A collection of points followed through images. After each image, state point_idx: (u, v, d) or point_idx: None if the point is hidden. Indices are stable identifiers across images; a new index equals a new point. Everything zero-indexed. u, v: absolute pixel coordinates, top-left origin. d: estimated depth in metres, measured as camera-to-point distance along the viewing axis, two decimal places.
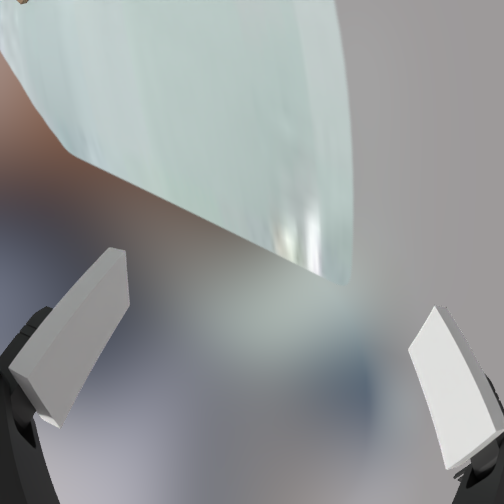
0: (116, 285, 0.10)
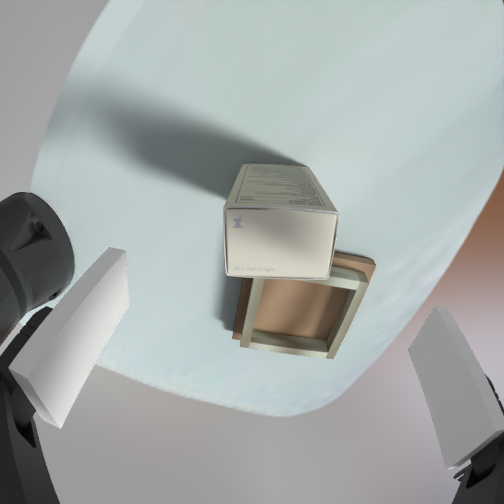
0: (116, 285, 0.10)
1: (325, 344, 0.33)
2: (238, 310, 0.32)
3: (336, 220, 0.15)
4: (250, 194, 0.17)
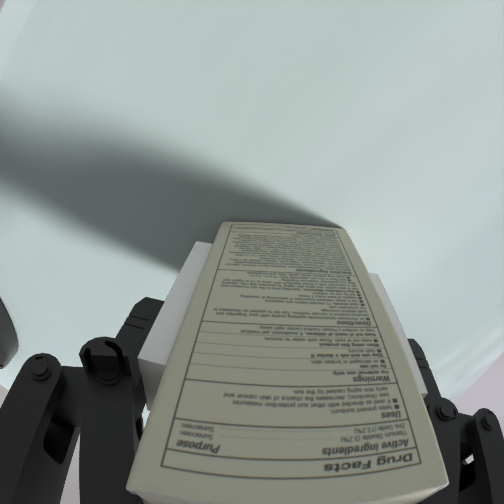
0: None
1: None
2: None
3: (438, 488, 0.03)
4: (212, 407, 0.05)
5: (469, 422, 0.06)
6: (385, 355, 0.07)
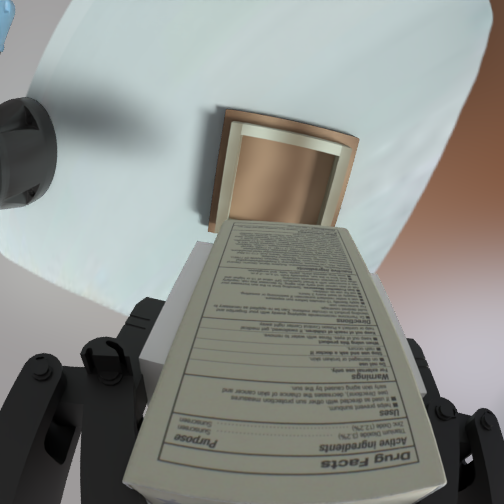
0: None
1: None
2: (214, 191, 0.30)
3: (435, 488, 0.03)
4: (209, 402, 0.05)
5: (468, 422, 0.06)
6: (384, 353, 0.07)
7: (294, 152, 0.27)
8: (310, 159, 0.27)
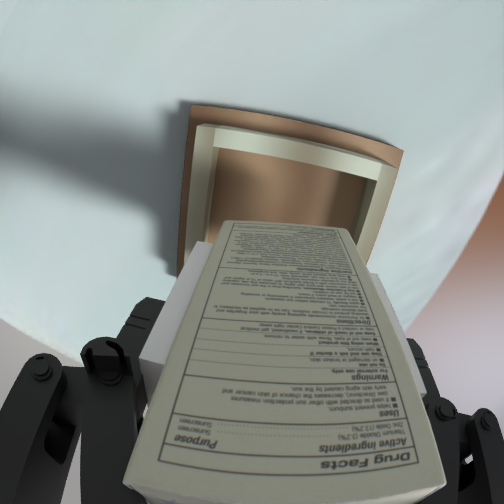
0: None
1: None
2: (180, 233, 0.20)
3: (435, 488, 0.04)
4: (209, 403, 0.05)
5: (468, 422, 0.06)
6: (384, 354, 0.07)
7: (302, 172, 0.17)
8: (328, 183, 0.17)
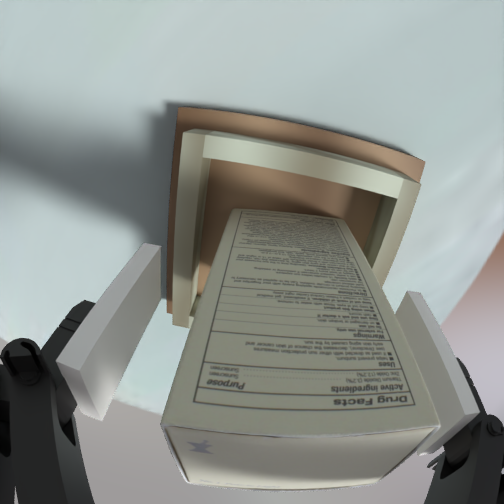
0: (152, 279, 0.11)
1: None
2: (169, 255, 0.17)
3: (431, 433, 0.05)
4: (235, 352, 0.07)
5: None
6: (380, 319, 0.08)
7: (309, 186, 0.15)
8: (339, 199, 0.15)
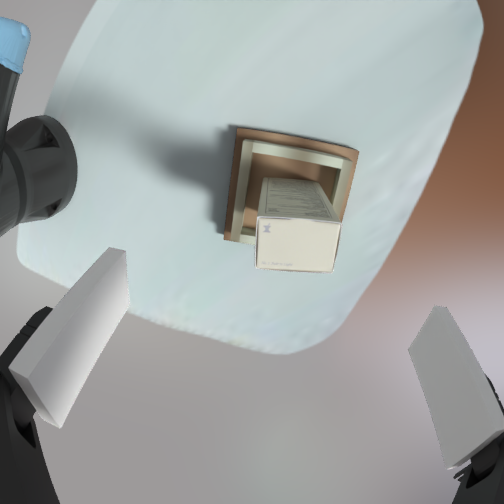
0: (116, 285, 0.10)
1: None
2: (228, 203, 0.33)
3: (340, 228, 0.21)
4: (275, 206, 0.22)
5: None
6: (324, 204, 0.24)
7: (300, 166, 0.30)
8: (315, 172, 0.30)
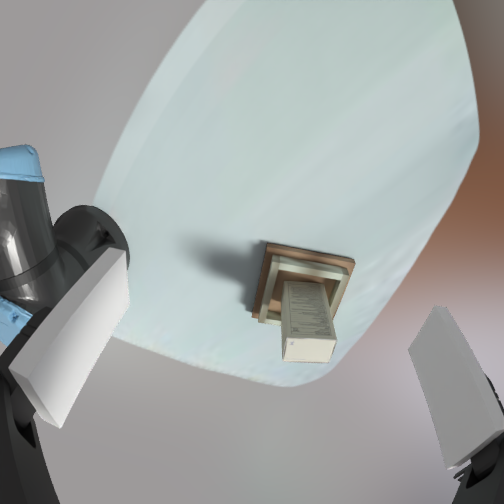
0: (116, 285, 0.10)
1: None
2: (257, 295, 0.45)
3: (335, 342, 0.33)
4: (296, 325, 0.35)
5: None
6: (327, 319, 0.36)
7: None
8: (321, 277, 0.43)
